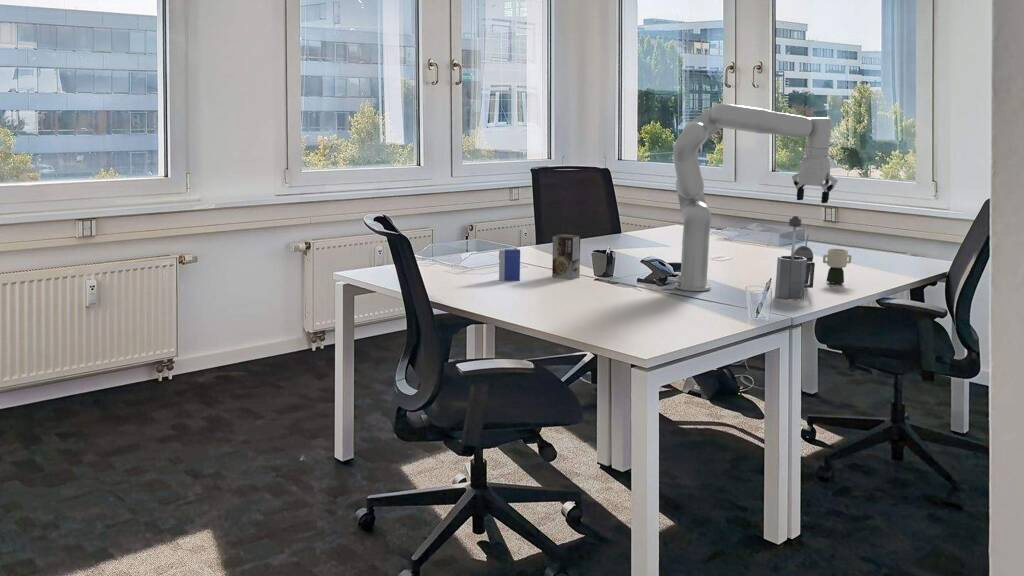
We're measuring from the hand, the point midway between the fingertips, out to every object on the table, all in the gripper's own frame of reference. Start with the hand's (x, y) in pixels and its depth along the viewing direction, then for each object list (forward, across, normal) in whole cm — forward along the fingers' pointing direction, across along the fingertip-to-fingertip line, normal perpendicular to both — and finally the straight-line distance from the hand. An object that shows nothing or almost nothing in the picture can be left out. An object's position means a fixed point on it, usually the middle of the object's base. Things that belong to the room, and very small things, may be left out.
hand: (812, 201), depth 325 cm
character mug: (+33, -1, +24) cm, 41 cm away
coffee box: (+35, -72, -50) cm, 94 cm away
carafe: (+33, +3, -11) cm, 35 cm away
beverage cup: (+33, -5, +7) cm, 34 cm away
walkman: (+36, -80, -71) cm, 113 cm away
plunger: (+25, +2, -12) cm, 28 cm away
